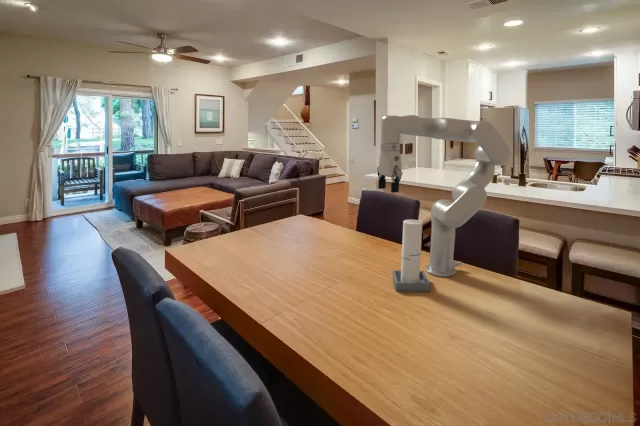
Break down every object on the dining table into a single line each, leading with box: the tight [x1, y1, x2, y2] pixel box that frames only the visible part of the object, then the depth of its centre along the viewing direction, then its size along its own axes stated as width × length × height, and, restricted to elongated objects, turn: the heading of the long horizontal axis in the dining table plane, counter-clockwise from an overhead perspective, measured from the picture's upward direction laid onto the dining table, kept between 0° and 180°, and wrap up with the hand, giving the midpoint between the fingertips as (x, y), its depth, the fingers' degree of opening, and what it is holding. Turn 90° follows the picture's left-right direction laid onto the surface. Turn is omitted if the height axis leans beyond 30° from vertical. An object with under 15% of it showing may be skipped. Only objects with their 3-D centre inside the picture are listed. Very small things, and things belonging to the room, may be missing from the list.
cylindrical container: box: [400, 219, 423, 283], centre depth 141 cm, size 7×7×25 cm
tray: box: [392, 269, 431, 293], centre depth 144 cm, size 13×13×4 cm
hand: (388, 190), depth 147 cm, fingers open, 9 cm apart
